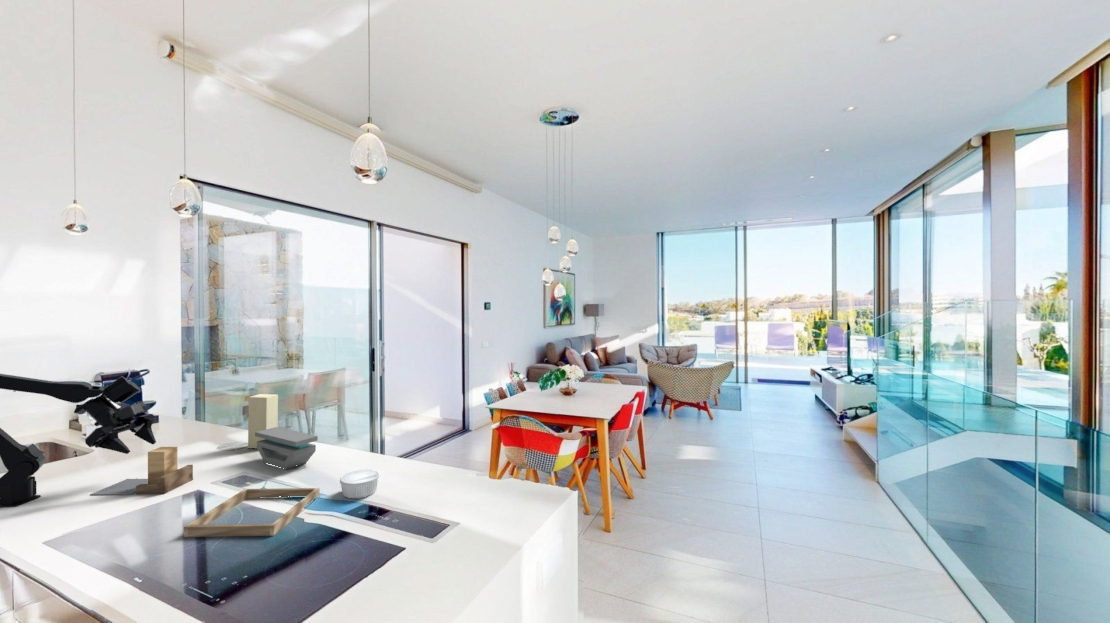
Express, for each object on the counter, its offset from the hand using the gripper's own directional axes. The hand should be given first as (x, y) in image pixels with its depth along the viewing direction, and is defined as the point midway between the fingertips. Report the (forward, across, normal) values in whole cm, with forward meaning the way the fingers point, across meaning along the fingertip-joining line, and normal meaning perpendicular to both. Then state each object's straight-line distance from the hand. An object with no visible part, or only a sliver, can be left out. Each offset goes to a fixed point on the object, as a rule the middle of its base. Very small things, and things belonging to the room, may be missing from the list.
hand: (142, 447), depth 140 cm
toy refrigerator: (+19, +40, -1) cm, 44 cm away
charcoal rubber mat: (+6, 0, +12) cm, 13 cm away
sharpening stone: (+33, +20, -15) cm, 41 cm away
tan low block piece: (+13, 0, +4) cm, 14 cm away
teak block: (+13, 0, +4) cm, 14 cm away
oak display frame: (+43, -20, -25) cm, 54 cm away
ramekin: (+59, -6, -41) cm, 72 cm away
